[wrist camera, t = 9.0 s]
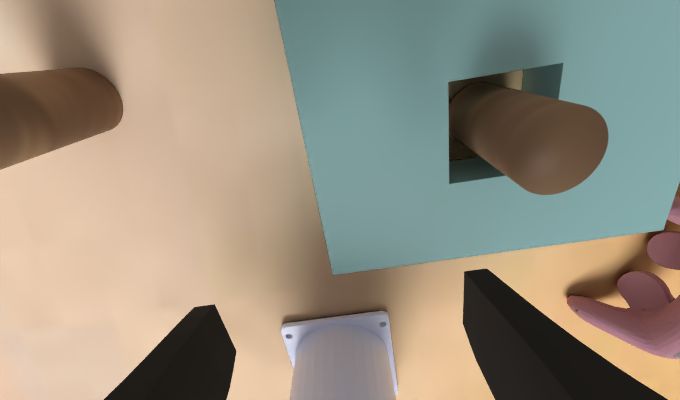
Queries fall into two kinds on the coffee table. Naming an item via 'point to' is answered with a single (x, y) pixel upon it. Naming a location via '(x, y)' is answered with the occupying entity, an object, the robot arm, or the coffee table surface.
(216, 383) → the robot arm
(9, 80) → the tall pin
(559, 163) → the short pin
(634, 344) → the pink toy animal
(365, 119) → the block
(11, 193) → the coffee table surface
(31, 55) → the coffee table surface
